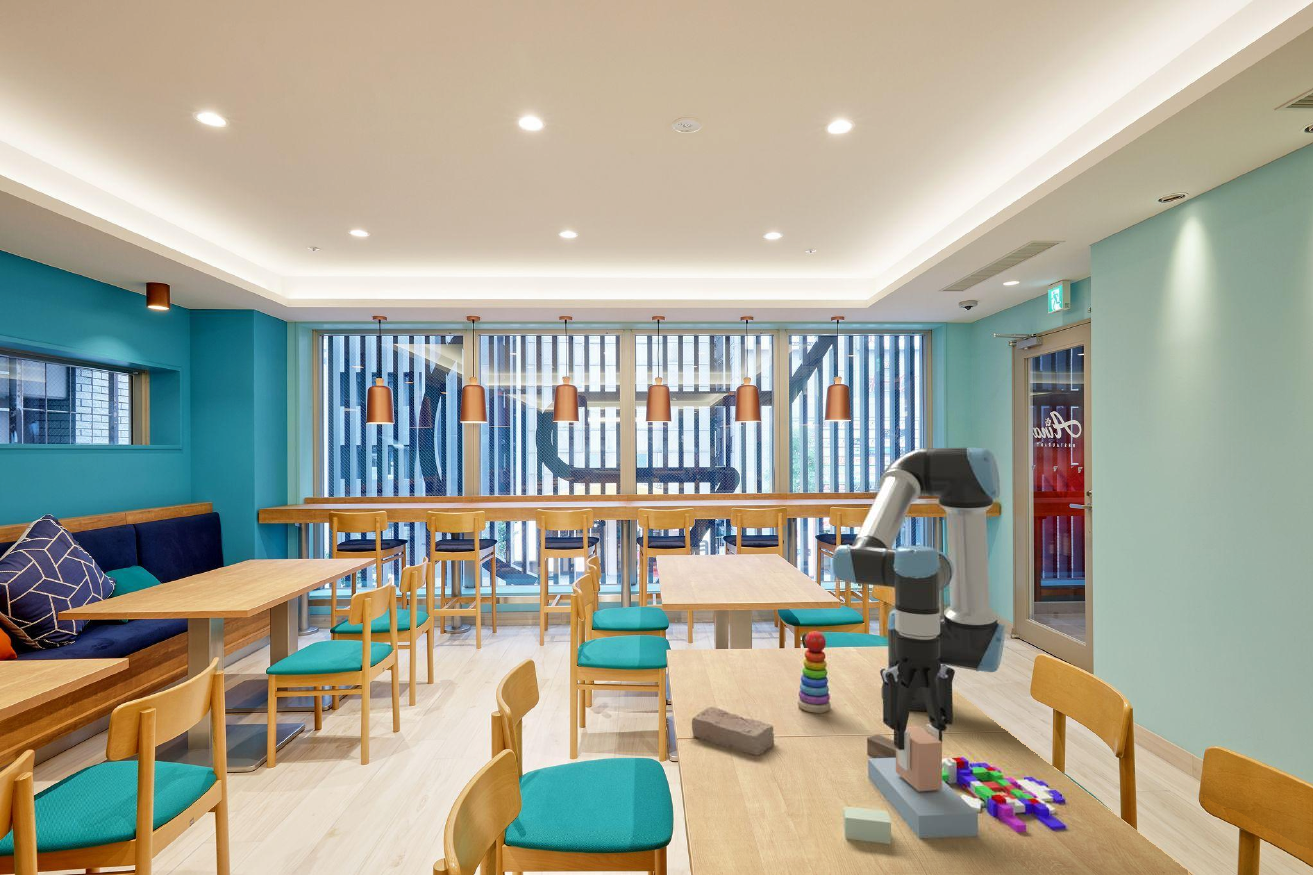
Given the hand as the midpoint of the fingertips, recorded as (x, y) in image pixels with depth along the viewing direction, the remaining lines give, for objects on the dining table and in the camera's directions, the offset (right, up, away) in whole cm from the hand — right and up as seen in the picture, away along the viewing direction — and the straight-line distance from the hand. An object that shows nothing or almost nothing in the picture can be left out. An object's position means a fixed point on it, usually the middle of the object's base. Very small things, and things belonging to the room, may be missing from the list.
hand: (918, 765), depth 115 cm
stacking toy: (-8, -8, +44) cm, 46 cm away
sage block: (-12, -7, -10) cm, 17 cm away
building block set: (+16, -8, +4) cm, 19 cm away
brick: (-30, -8, +26) cm, 40 cm away
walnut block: (+1, -8, +17) cm, 19 cm away
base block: (0, -7, 0) cm, 7 cm away
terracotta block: (0, -3, 0) cm, 3 cm away
